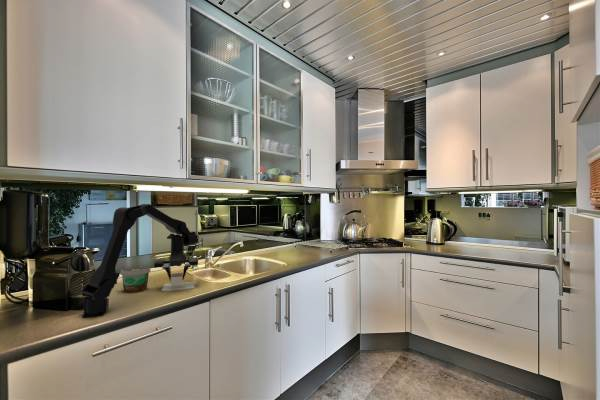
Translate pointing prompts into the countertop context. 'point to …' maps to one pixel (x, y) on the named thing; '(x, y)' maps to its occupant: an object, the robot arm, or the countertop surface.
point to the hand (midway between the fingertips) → (176, 280)
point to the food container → (135, 280)
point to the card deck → (177, 279)
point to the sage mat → (182, 287)
